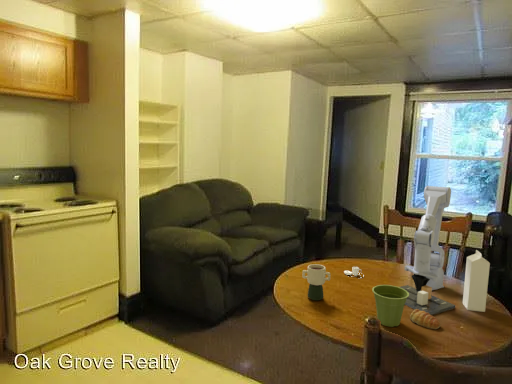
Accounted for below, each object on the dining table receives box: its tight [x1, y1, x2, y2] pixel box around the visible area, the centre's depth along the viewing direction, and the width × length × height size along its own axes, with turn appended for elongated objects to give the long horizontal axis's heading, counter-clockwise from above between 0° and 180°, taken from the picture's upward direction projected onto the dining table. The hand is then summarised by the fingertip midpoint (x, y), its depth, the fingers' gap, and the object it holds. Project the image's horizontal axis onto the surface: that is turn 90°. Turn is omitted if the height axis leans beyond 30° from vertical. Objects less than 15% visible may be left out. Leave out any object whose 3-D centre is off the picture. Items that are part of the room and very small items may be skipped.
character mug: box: [301, 263, 331, 301], centre depth 142 cm, size 11×7×13 cm, turn 77°
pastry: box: [409, 309, 442, 330], centre depth 124 cm, size 9×7×4 cm
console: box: [399, 284, 456, 316], centre depth 143 cm, size 15×22×1 cm
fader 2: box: [417, 291, 428, 305], centre depth 136 cm, size 3×2×4 cm
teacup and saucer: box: [343, 266, 365, 279], centre depth 170 cm, size 9×8×4 cm
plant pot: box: [372, 284, 409, 328], centre depth 124 cm, size 12×12×11 cm
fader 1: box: [421, 285, 433, 299], centre depth 142 cm, size 3×2×4 cm
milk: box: [462, 249, 491, 313], centre depth 136 cm, size 6×6×22 cm
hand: (419, 292), depth 144 cm, fingers closed
